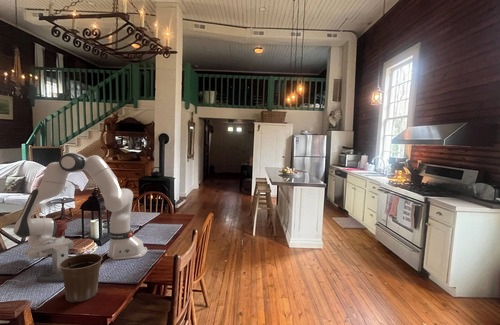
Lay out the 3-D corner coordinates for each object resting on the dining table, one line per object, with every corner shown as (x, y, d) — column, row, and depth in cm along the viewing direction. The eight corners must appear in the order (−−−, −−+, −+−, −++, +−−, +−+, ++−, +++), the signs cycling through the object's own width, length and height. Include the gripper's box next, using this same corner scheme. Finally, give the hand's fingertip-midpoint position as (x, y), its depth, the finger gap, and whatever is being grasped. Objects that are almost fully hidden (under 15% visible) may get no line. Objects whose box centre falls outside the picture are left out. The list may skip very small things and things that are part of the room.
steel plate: (82, 267, 149) (82, 263, 148) (67, 281, 135) (67, 276, 134) (54, 268, 147) (54, 263, 147) (36, 281, 133) (36, 276, 133)
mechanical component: (71, 236, 193) (58, 241, 183) (59, 235, 195) (46, 240, 185) (70, 219, 192) (58, 223, 182) (58, 218, 194) (45, 222, 184)
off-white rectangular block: (63, 266, 145) (62, 244, 144) (68, 269, 141) (68, 247, 140) (52, 269, 140) (51, 247, 139) (57, 273, 137) (56, 250, 136)
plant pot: (86, 282, 135) (86, 250, 133) (110, 290, 128) (110, 256, 127) (51, 299, 120) (50, 264, 118) (77, 309, 113) (76, 272, 112)
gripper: (22, 246, 141) (32, 253, 133) (66, 235, 158) (77, 241, 150) (22, 258, 142) (32, 265, 134) (66, 246, 158) (78, 252, 151)
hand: (56, 252), depth 142 cm, fingers open, 8 cm apart
